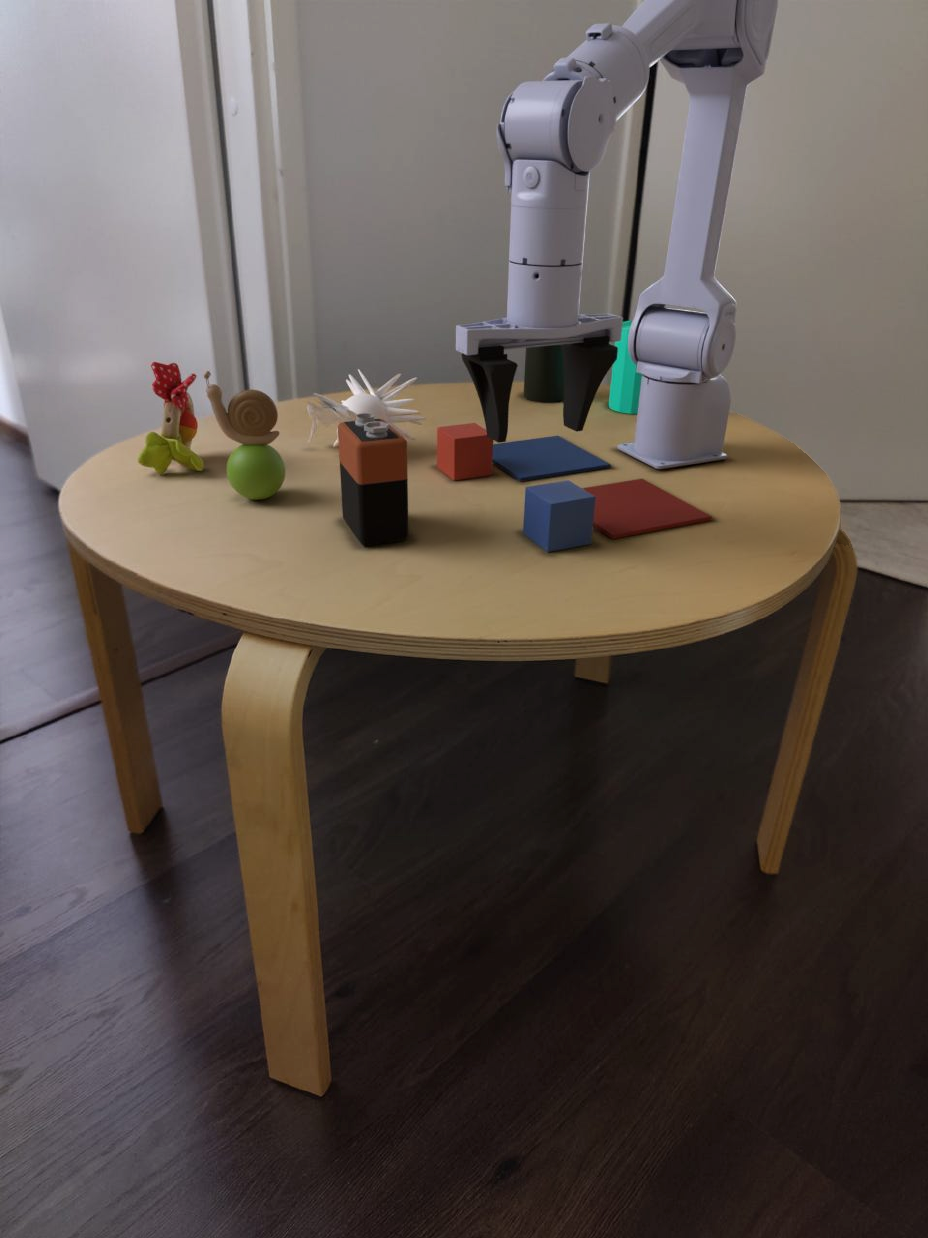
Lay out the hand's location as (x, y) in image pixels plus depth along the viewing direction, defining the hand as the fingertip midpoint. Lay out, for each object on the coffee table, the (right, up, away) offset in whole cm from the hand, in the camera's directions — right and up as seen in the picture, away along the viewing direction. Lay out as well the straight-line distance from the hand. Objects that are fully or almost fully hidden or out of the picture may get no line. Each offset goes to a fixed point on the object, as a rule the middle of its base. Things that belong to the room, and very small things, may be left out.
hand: (535, 433), depth 73 cm
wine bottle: (+5, +14, +44) cm, 47 cm away
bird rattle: (-36, 0, +17) cm, 40 cm away
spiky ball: (-18, +3, +23) cm, 29 cm away
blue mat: (+2, +2, +21) cm, 21 cm away
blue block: (+2, -9, +2) cm, 9 cm away
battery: (-14, -8, +3) cm, 16 cm away
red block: (-6, 0, +17) cm, 18 cm away
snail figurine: (-26, -4, +10) cm, 28 cm away
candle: (+16, +12, +40) cm, 45 cm away
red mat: (+10, -5, +9) cm, 14 cm away
